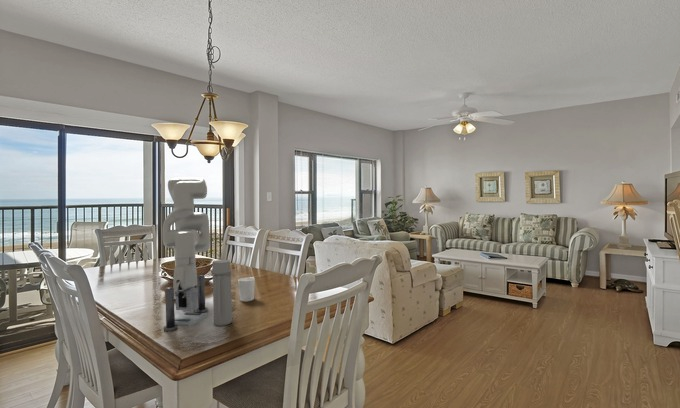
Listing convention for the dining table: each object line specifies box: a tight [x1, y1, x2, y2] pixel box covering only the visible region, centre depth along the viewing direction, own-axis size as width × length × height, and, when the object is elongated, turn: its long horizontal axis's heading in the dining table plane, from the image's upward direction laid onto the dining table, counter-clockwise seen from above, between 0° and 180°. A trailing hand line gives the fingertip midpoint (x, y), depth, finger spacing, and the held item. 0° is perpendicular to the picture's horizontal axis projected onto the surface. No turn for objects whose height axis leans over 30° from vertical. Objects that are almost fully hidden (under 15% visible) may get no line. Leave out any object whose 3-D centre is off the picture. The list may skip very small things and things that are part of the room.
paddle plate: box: [175, 311, 208, 326], centre depth 148 cm, size 11×11×1 cm
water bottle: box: [210, 259, 233, 327], centre depth 142 cm, size 9×8×25 cm
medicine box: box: [175, 287, 199, 312], centre depth 148 cm, size 8×4×9 cm, turn 71°
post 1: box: [163, 286, 179, 333], centre depth 138 cm, size 5×5×16 cm
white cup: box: [237, 276, 256, 302], centre depth 175 cm, size 8×8×10 cm
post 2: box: [195, 274, 209, 313], centre depth 158 cm, size 5×5×16 cm
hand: (186, 304), depth 148 cm, fingers closed on medicine box, 4 cm apart
